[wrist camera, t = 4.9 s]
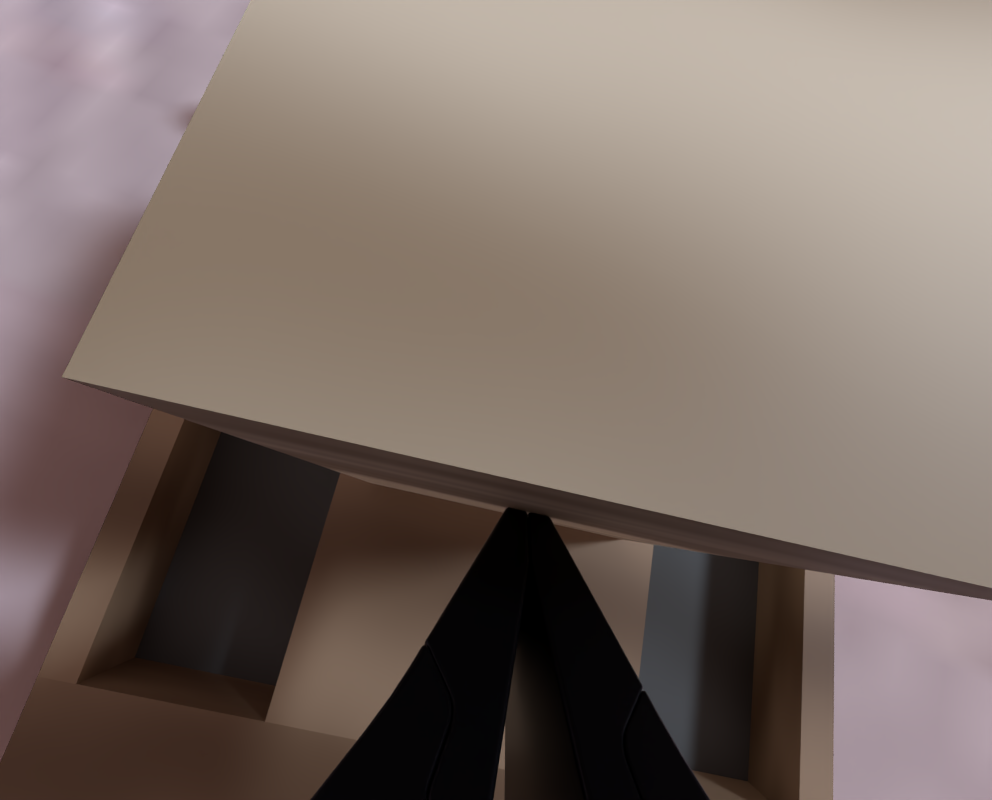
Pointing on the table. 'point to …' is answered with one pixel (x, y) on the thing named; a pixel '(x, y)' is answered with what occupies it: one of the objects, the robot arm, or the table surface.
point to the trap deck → (373, 635)
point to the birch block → (595, 268)
